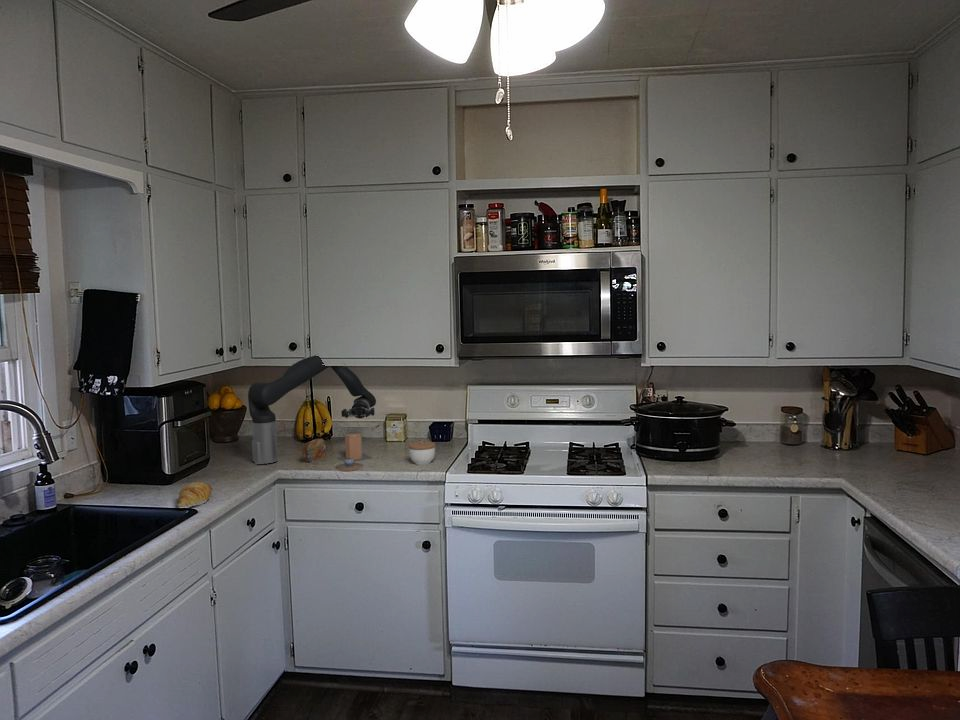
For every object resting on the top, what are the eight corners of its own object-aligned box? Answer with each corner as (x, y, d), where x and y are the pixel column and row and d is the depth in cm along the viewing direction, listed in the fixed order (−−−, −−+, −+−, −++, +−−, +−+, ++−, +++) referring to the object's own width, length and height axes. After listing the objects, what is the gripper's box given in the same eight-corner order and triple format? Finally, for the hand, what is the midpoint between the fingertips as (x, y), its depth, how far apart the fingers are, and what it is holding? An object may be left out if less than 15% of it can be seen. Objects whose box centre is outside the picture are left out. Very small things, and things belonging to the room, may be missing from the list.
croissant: (189, 522, 222) (199, 501, 221) (161, 508, 221) (171, 487, 220) (216, 501, 243) (225, 481, 242) (190, 488, 242) (199, 468, 241)
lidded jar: (404, 464, 275) (403, 441, 274) (418, 458, 284) (417, 436, 284) (426, 467, 270) (426, 444, 269) (440, 461, 279) (440, 438, 279)
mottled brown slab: (308, 464, 279) (307, 444, 279) (301, 464, 280) (300, 443, 280) (327, 456, 294) (326, 436, 293) (321, 455, 295) (320, 436, 294)
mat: (348, 463, 279) (347, 462, 279) (334, 458, 288) (334, 457, 288) (374, 458, 286) (373, 457, 286) (360, 453, 296) (360, 453, 296)
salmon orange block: (345, 459, 284) (344, 436, 283) (347, 456, 290) (346, 433, 289) (361, 459, 284) (360, 435, 283) (362, 455, 291) (361, 432, 290)
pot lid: (343, 473, 265) (342, 464, 264) (330, 467, 273) (330, 459, 273) (368, 467, 271) (368, 459, 271) (355, 462, 280) (355, 454, 280)
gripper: (344, 401, 312) (339, 407, 296) (376, 399, 313) (372, 406, 297) (345, 417, 313) (340, 424, 297) (376, 416, 314) (373, 423, 298)
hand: (356, 415), depth 297 cm, fingers open, 8 cm apart
